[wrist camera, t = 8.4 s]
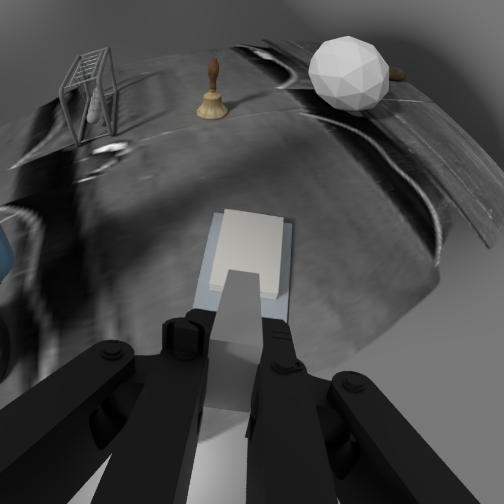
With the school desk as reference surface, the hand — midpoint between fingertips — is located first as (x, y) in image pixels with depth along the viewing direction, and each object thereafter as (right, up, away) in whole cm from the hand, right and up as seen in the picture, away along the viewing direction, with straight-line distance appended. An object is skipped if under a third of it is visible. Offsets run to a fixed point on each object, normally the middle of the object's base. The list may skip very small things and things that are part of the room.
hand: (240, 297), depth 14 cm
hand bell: (-10, +39, +55) cm, 68 cm away
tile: (-1, -4, +28) cm, 28 cm away
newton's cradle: (-43, +41, +53) cm, 80 cm away
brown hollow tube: (+64, +82, +89) cm, 138 cm away
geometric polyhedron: (+28, +48, +65) cm, 86 cm away
